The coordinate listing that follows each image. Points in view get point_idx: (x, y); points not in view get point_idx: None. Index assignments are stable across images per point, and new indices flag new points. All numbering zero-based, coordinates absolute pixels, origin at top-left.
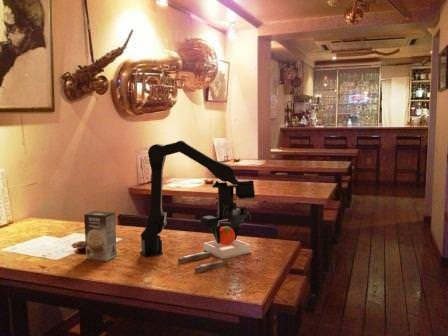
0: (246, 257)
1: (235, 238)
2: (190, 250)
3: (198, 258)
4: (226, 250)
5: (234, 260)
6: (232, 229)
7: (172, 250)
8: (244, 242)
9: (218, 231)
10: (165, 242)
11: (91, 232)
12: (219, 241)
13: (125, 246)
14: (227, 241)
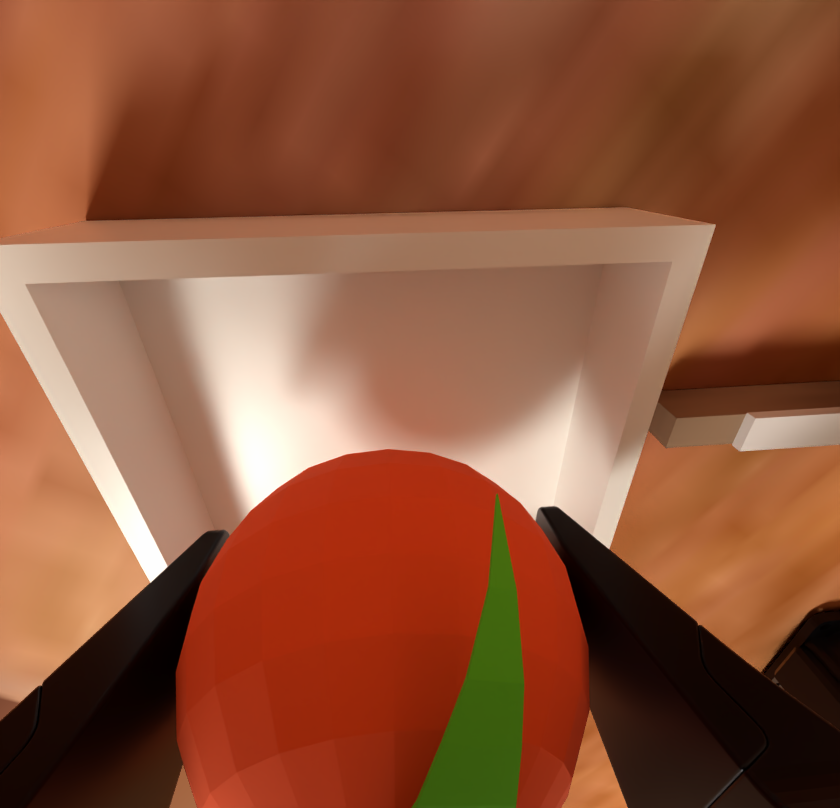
0: (256, 13)
1: (203, 550)
2: None
3: (799, 387)
4: (614, 223)
5: (534, 12)
6: (218, 777)
7: None
8: (67, 426)
9: (770, 742)
10: (602, 744)
11: None
12: (557, 528)
13: None
14: (454, 465)
